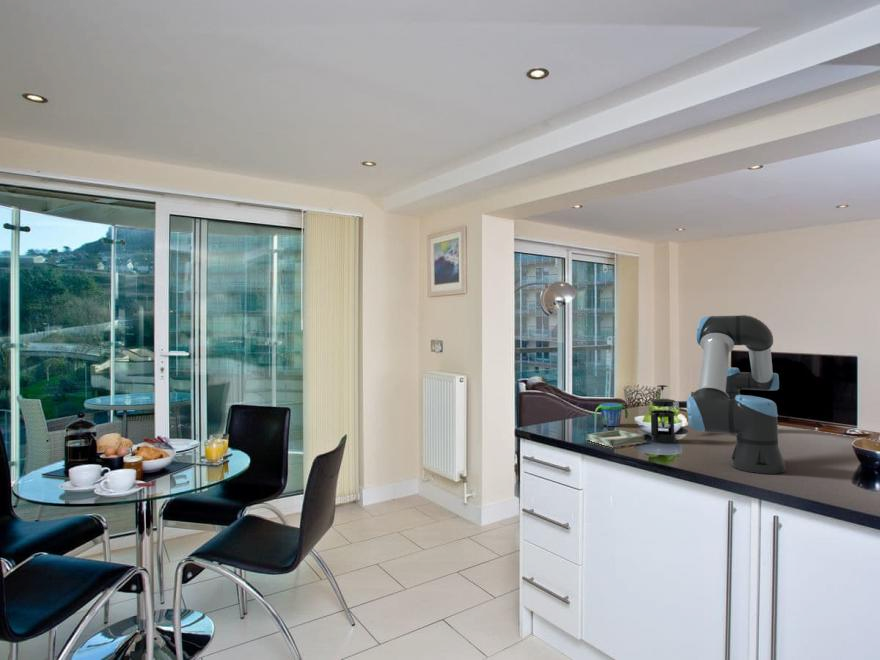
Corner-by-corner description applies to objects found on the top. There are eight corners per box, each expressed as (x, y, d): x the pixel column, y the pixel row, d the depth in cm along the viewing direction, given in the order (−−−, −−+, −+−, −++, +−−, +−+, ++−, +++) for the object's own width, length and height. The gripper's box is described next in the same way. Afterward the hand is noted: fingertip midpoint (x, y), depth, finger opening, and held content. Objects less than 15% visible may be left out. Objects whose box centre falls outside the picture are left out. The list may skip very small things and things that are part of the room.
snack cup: (597, 428, 241) (596, 406, 241) (592, 423, 251) (592, 403, 251) (631, 427, 239) (630, 406, 239) (625, 423, 250) (624, 402, 250)
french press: (662, 437, 217) (661, 383, 217) (682, 441, 209) (680, 385, 209) (643, 440, 211) (642, 385, 211) (663, 444, 203) (661, 387, 203)
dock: (646, 443, 206) (646, 436, 206) (612, 448, 199) (612, 440, 199) (617, 436, 221) (617, 429, 221) (585, 440, 213) (584, 433, 213)
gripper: (742, 417, 212) (707, 421, 203) (691, 409, 234) (657, 413, 226) (742, 399, 212) (706, 403, 203) (690, 393, 234) (656, 396, 226)
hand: (680, 408), depth 214 cm, fingers open, 13 cm apart
